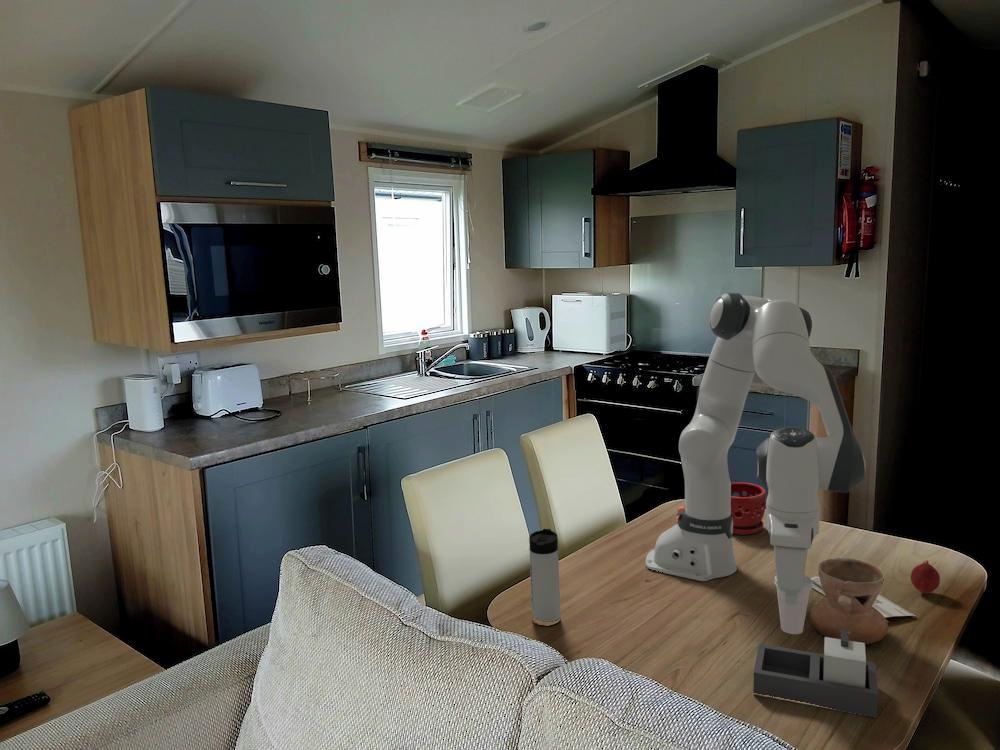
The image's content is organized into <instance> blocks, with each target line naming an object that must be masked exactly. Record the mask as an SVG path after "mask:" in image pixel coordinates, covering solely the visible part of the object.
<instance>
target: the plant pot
mask: <svg viewBox="0 0 1000 750" xmlns="http://www.w3.org/2000/svg"><path fill="white" fill-rule="evenodd" d="M744 492H745V493H746V495H744V494H743V493H744ZM735 493H736V494H738V495H739V496H734V495H733V494H735ZM766 493H767V492H766V489H765V487H763V486H761V485H758V484H755V483H751V482H731V513H732V515H733V534H735V535H743V536H744V535H754V534H757V533H759V532H760V531H762V529H763V528H764V522H763V521H762V520H763V518H764V515H765V513H766V499H767V494H766Z"/></svg>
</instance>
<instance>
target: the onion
mask: <svg viewBox="0 0 1000 750" xmlns="http://www.w3.org/2000/svg"><path fill="white" fill-rule="evenodd" d="M910 581H911V584H912V585H913V586H914V588H915V589H916V590H917V591H919V592H920V593H921V594H924V595H927V594H929V593H932V592H934V591H936V589H938V588H939V586H940V583H941V582H940V581H941V577H940V574H939V572H938V570H937V569H936V568H935V567H934V566H932V564H930V563H929V560H927V559H923V561H922V563H919V564H917V565H916V566H914V568H913V569H912V571H911V573H910Z"/></svg>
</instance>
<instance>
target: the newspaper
mask: <svg viewBox="0 0 1000 750" xmlns="http://www.w3.org/2000/svg"><path fill="white" fill-rule="evenodd" d="M809 578H810V579H811V580H812V586H813V587H812V589H814V590H816V591H817V592H819V593H821V594H822V595H824V596H825V597H826V595H825V593H824V591H823V588H822V585H821V581H820V577H819V575H818V576H813V577H809ZM872 607H874V608H875V609H876V610H878V611H879V612H880V613H881V614H882V615H883V616H884V617H885V619H886V618H893V617H907V616H908V617H909V616H910V617H911V618H914V619H917V618H918V616H917V615H915V614H914V613H912V612H910V611H908V610H907V609H905V608H903V607H902V606H901V605H898V604H897V603H896V602H893V601H892V600H890V599H888V598H887V597H885V596H883V595H881V593H879V594H878V596H877V598H876V600H875V602H874V603H873V605H872ZM886 621H887V624H888V623H889V622H890V621H889V620H888V619H886Z"/></svg>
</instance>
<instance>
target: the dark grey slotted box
mask: <svg viewBox="0 0 1000 750" xmlns="http://www.w3.org/2000/svg"><path fill="white" fill-rule="evenodd" d="M823 645H824V647H823V648H824V649H823V651H824V652H823V653H817V652H811V651H807V650H805V651H804V650H800V649H799V650H798V649H793V648H787V647H781V646H774V645H769V644H763V643H758V647H757V652H756V656H755V657H756V658H755V662H754V668H753V693H757V694H762V695H769V696H772V697H773V696H774V697H780V698H784V699H790V700H795V701H800V702H806V703H810V704H815V705H819V706H823V707H828V708H832V709H836V710H840V711H845V712H849V713H848V714H851V713H856V714H861V715H864V716H863V717H866V716H869V717H868V718H872V717H873V719H878V705H879V704H878V703H879V702H878V701H879V699H878V698H879V691H878V680H877V670H876V669H877V668H876V662H872V661H867V656H866V644H865V643H861V642H855V641H848V630H842V629H841V639H835V638H829V637H826V636H824V644H823ZM840 711H839V712H840ZM845 712H844V713H845ZM850 712H851V713H850ZM856 714H855V715H856ZM861 715H860V716H861Z"/></svg>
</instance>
